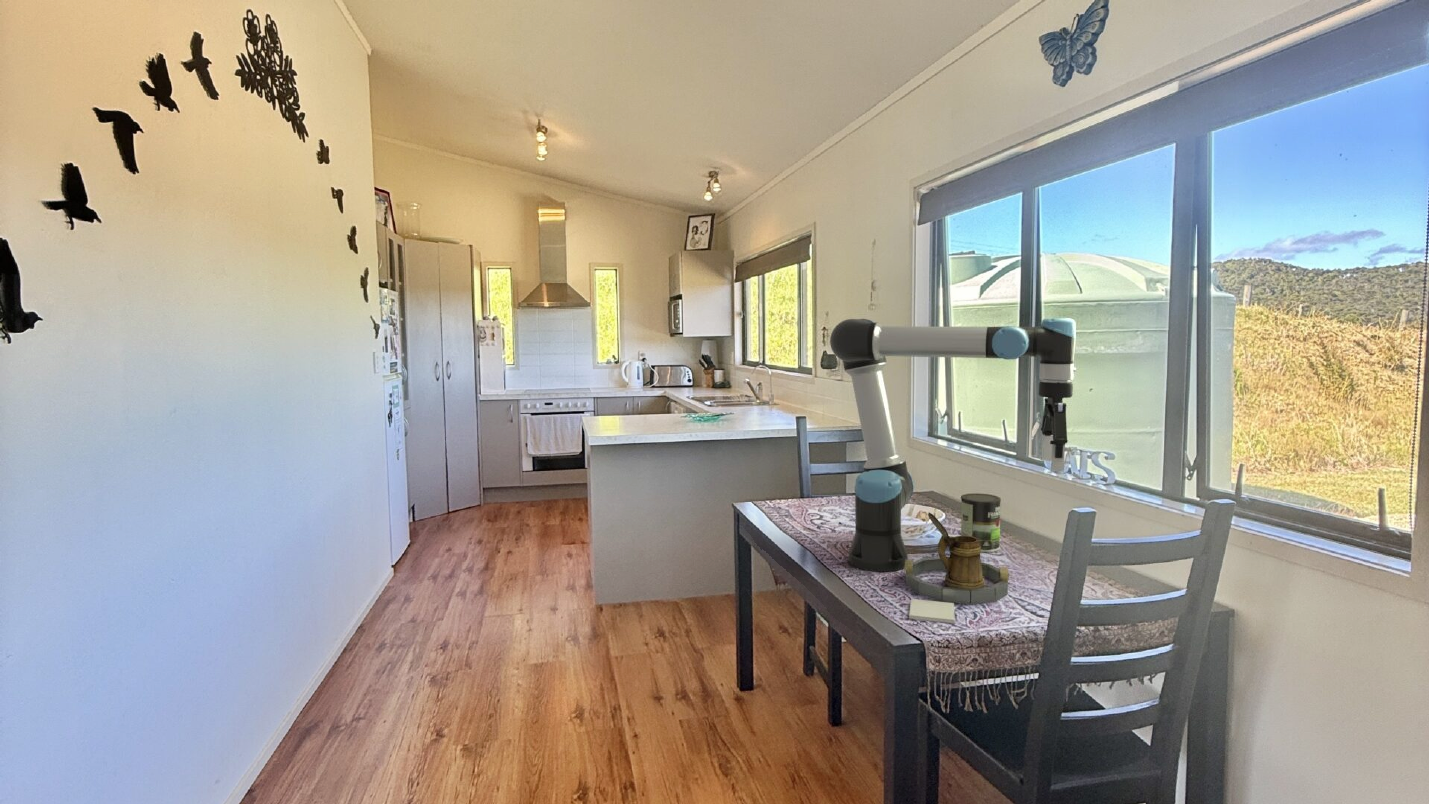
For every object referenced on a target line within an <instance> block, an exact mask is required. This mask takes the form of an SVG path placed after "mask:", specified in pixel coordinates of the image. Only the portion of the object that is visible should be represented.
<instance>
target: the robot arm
mask: <svg viewBox="0 0 1429 804" xmlns="http://www.w3.org/2000/svg"><path fill="white" fill-rule="evenodd" d="M1076 326H1077V325H1076V321H1075V320H1074V319H1072V318H1043V319H1042V321H1041V324H1040V325H1037V326H1016V325H1013V326H1012V325H1008V326H1004V325H1003V326H883V325H882V324H881V323H880V322H875V321H873V320H871V319H867V318H848V319H844V320H842V321H841V322H840V321H839V322H838V324H836V325H835V327H834V328H833V329H832V330H831V331H832V332H831V333H830V338H829V339H830V340H829V344H830V348H831V351H832V352H833V354H834V355H835V357H837V359H839V360H841V361H842V364H843V368H844V369H843V370H844V373H847V374H848V375H849V376H850V377H851V381H852V382H851V383H852V387H853V391H854V398H855V402H856V406H857V411H858V412H857V413H858V418H859V422H860V426H861V427H860V429H861V434H862V438H863V443H864V449H865V454H866V461H865V463H864V465H863V466H862V468H863V472H862V473H860V474H858V475H857V476H856V478H855V485H854V495H855V496H854V499H855V503H854V506H855V507H854V508H855V509H854V510H855V512H854V514H855V517H854V518H855V520H854V521H855V522H854V523H855V532H854V536H853V539H852V542H851V545H850V548H849V550H848V562H849V564H851V565H853V566H854V567H856V568H859V569H862V570H866V571H874V572H893V571H898V570H902V569H905V560H906V559H909V555H908V551H907V548H906V545H905V543H904V539H903V536H902V509H903V508H904V507H905V506H906V505H908V503H909V501H910V500H911V499H912V496H913V494H914V487H915V486H914V485H915V484H914V479H913V477H912V475H911V473H910V472H909V471H908V467H907V462H906V459H905V458H904V457H903V456H901V455H900V454H899V450H898V445H897V439H896V435H895V429H894V423H893V420H892V413H891V408H890V403H889V399H888V398H889V397H888V393H887V387H886V383H885V378H884V372H883V370H884V368H885V366H886V365H887V359H886V357H904V358H905V357H913V358H914V357H915V358H916V357H917V358H923V357H924V358H968V359H969V358H970V359H972V358H973V359H981V358H982V359H1004V360H1016V359H1019V358H1020V357H1022V358H1024V357H1035V358H1036V357H1039V359H1040V360H1039V361H1040V362H1039V374H1038V375H1039V376H1038V379H1039V380H1041V381H1040V382H1039V384H1038V396H1040V397H1041V398H1044V406H1043V414H1042V420H1041V427H1040V431H1041V434H1042V435H1041V437H1042V438H1041V459H1040V460H1041V461H1047V462H1050V471H1052V472H1064V470H1065V452H1066V450H1065V449H1066V444H1067V443H1068V430H1067V428H1068V427H1067V403H1066V402H1063V400H1064V399H1069V398H1072V397H1073V394H1074V393H1073V392H1074V390H1073V389H1074V384H1073V382H1072V381H1073V379H1074V372H1076V371H1077V368H1076V367H1074V365H1075V351H1076V341H1077V340H1076V339H1077V337H1076V334H1077V333H1076V329H1077V328H1076Z"/></svg>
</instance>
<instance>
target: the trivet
mask: <svg viewBox="0 0 1429 804" xmlns="http://www.w3.org/2000/svg"><path fill="white" fill-rule="evenodd" d="M909 606H910V607H909V615H908V617H909V620H919V621H929V622H937V623H947V624H955V619H956V617H955V603H951V602H942V601H938V600H925V599H915V598H911V600H910V605H909Z"/></svg>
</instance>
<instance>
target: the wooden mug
mask: <svg viewBox="0 0 1429 804" xmlns="http://www.w3.org/2000/svg"><path fill="white" fill-rule="evenodd" d="M927 516H928V518H929V519H930V521H931V522H932V524H933V525H934V526H935V527H936V529H937V530H938V531H939V533H940V534H941V537H940V538H939V541H938V544H937V553H938V557H940V559H941V561H942V562H943V564H944V566H945V568H946V570H945V572H946V574H945V576H944V583H945V584H946V585H947V587H952V588H963V589H975V588H984V587H986V585H985V583H986V582H985V577H984V576H982V567H981V562H982V559H981V554H982V552H981V547H980V545H979V540H978V539H977V538H975V537H972V536H961V535H957V536H951V535H949V533H948V531H947V530H946V528H945V526H943V524H942V522H940V521H939V520H938V518H937V517H936V516H935V515H934V514H932V513H931V512H928V513H927ZM947 548H948V551H949V556H947V554H946V549H947Z"/></svg>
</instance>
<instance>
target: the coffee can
mask: <svg viewBox="0 0 1429 804" xmlns="http://www.w3.org/2000/svg"><path fill="white" fill-rule="evenodd" d="M960 499H961V501H960V502H961V504H960V505H961V506H960V507H961V509H960V510H961V512H960V514H961V515H960V516H961V517H960V536H972V537H975V538H977V539H978V540H979V545H980V547H981V553H993V552H995V553H996V552H998V551H999V550H1000V549H1001V548H1000V546H1001V545H1000V544H1001V543H1000V539H1001V538H1000V533H1001V532H1000V531H1001V501H1002V498H1001V497H1000V496H997V495H993V494H989V493H976V492H975V493H966V494H962V495H961V496H960Z"/></svg>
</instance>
